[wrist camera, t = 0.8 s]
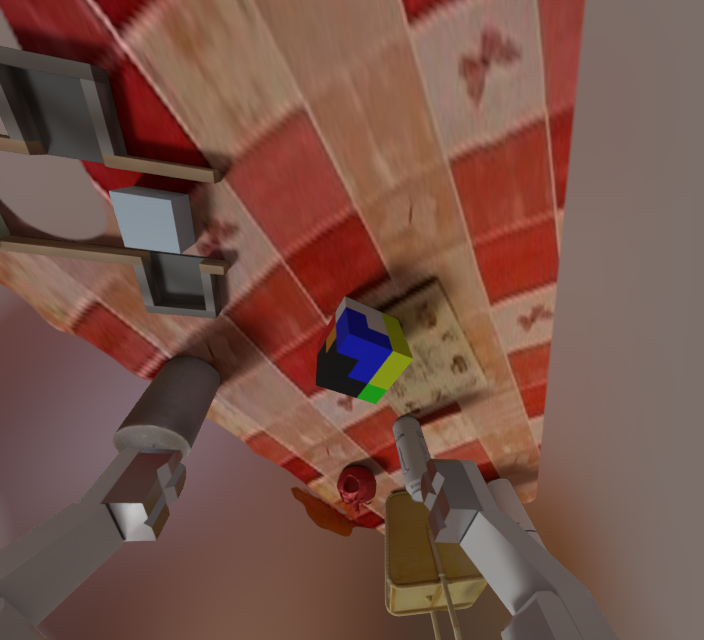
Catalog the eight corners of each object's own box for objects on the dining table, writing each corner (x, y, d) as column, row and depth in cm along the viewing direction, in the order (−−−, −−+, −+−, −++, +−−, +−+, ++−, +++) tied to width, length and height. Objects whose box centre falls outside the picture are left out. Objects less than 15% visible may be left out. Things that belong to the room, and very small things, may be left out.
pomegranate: (381, 466, 70) (388, 506, 62) (359, 484, 74) (364, 524, 67) (349, 457, 67) (353, 499, 59) (328, 477, 71) (329, 518, 63)
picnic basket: (450, 522, 93) (494, 661, 68) (376, 531, 93) (393, 674, 68) (463, 480, 77) (528, 642, 52) (374, 490, 77) (396, 658, 51)
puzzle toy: (344, 295, 42) (348, 333, 33) (397, 319, 45) (413, 358, 37) (318, 341, 46) (315, 385, 38) (367, 360, 49) (375, 403, 41)
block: (134, 185, 32) (108, 191, 28) (188, 194, 33) (170, 200, 29) (147, 235, 35) (125, 246, 31) (196, 242, 36) (180, 253, 32)
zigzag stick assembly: (-113, 25, 24) (-175, 9, 21) (212, 91, 28) (198, 84, 25) (32, 293, 38) (7, 305, 35) (233, 311, 42) (226, 324, 39)
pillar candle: (166, 390, 50) (112, 473, 38) (160, 351, 45) (96, 431, 32) (221, 396, 52) (188, 476, 40) (221, 359, 47) (184, 437, 34)
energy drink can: (391, 416, 59) (408, 489, 46) (419, 413, 59) (443, 485, 46) (392, 432, 62) (407, 505, 49) (417, 429, 62) (440, 501, 50)
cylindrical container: (507, 488, 82) (568, 606, 61) (483, 492, 82) (536, 610, 61) (511, 476, 78) (578, 598, 57) (487, 480, 78) (544, 603, 57)
